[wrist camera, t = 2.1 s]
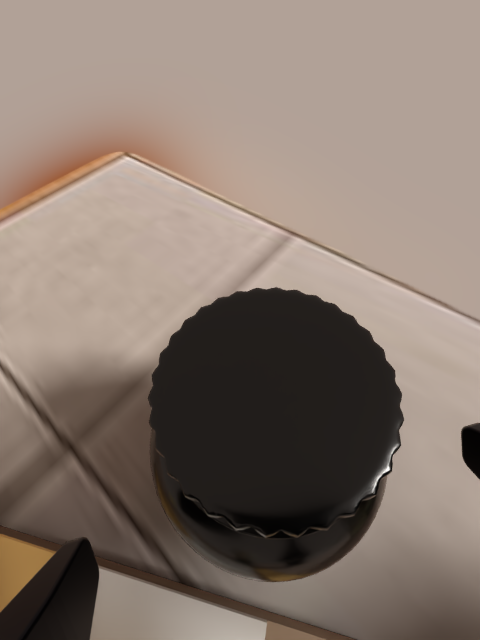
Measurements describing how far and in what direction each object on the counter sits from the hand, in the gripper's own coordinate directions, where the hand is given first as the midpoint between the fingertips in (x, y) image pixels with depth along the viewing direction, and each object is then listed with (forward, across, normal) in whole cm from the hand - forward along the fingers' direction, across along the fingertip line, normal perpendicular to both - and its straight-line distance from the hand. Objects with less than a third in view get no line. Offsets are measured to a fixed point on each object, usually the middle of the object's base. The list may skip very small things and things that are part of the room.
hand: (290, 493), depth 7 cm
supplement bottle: (+8, 0, +6) cm, 10 cm away
